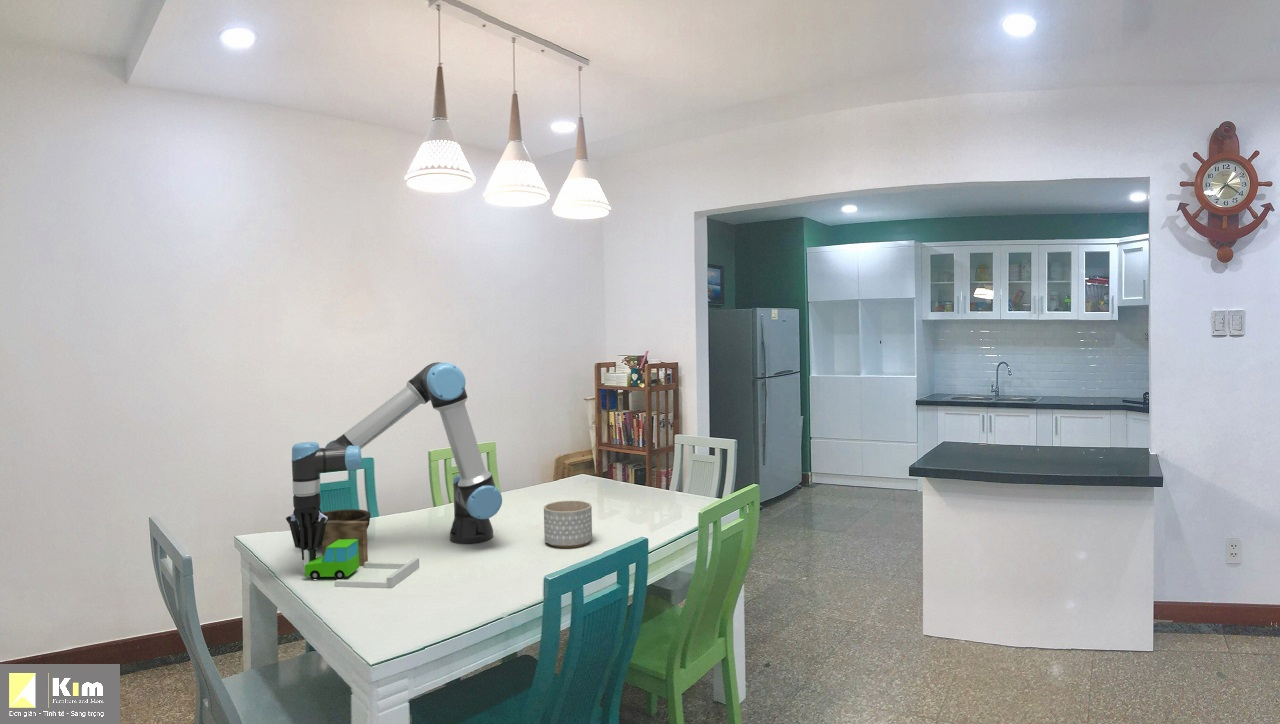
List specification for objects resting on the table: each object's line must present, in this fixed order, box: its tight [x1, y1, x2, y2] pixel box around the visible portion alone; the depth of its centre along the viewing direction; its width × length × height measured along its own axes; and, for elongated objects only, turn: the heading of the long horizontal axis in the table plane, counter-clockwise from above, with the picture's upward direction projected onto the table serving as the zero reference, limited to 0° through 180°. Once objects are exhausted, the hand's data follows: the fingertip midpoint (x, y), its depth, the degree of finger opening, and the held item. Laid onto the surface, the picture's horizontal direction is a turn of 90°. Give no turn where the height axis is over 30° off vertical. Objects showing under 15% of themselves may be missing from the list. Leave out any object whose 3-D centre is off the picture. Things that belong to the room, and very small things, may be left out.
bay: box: [334, 557, 420, 589], centre depth 214 cm, size 18×18×3 cm
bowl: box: [316, 509, 371, 547], centre depth 248 cm, size 22×22×10 cm
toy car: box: [304, 539, 360, 580], centre depth 216 cm, size 10×13×10 cm
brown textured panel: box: [321, 520, 369, 567], centre depth 226 cm, size 15×3×14 cm, turn 83°
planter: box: [543, 500, 593, 549], centre depth 246 cm, size 16×16×13 cm
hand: (309, 570), depth 217 cm, fingers closed
